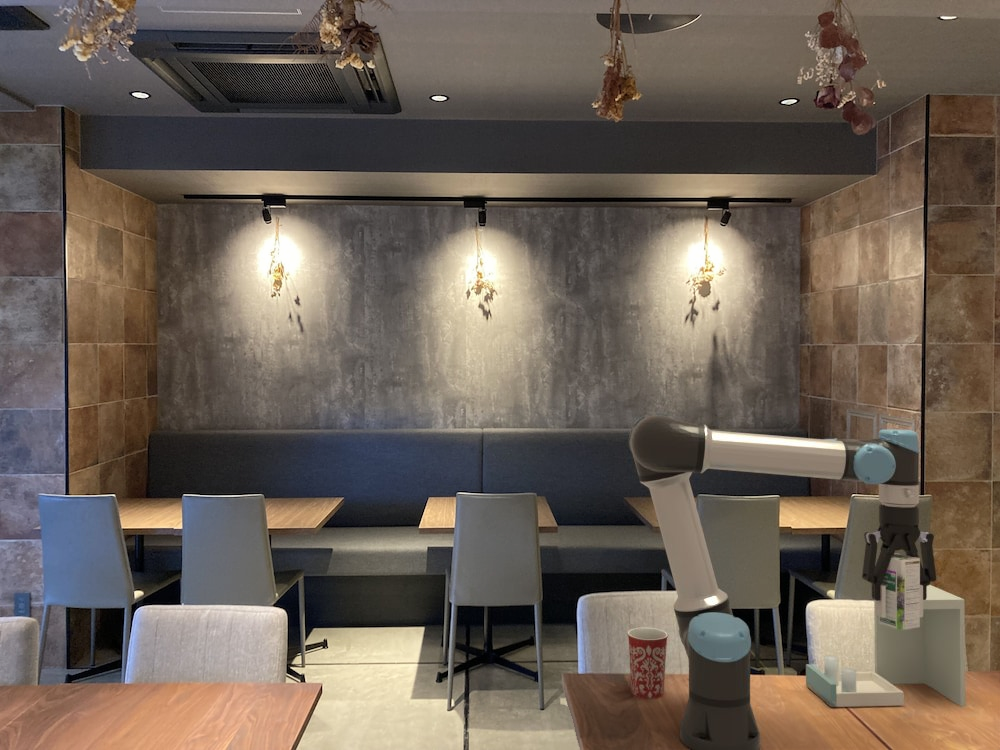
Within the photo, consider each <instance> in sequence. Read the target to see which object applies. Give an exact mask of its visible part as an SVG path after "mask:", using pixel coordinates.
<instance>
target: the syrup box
mask: <svg viewBox="0 0 1000 750" xmlns="http://www.w3.org/2000/svg"><path fill="white" fill-rule="evenodd" d="M920 562H921V558H920V557H919V558H915V557H910V556H907V555H905V554H901V553H898V552H897V553H896V552H895V553H894V555H892V557H891V560H890V563H889V565H888V568H887V571H886V573H885V576H884V579H883V582H882V584H883V585H885V586H886V618H882V617H880V616H879V624H881V625H885V626H888V627H892V628H895V629H898V630H900V631H902V630H908V629H913V628H918V627H920Z"/></svg>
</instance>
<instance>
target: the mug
mask: <svg viewBox="0 0 1000 750" xmlns="http://www.w3.org/2000/svg"><path fill="white" fill-rule="evenodd" d="M668 636H669V633H667V631H665V630H662V629H660V628H654V627H636V628H631V629H629V630H628V631H627V638H628V653H629V655H628V656H629V672H630V688H631V689H630V690H631V691H630V692H631V694H633V695H634V696H636V697H639V698H643V699H658V698H660V697H662V696H664V694H665V680H666V679H665V678H666V676H665V675H666V660H667V658H666V657H667V643H668Z"/></svg>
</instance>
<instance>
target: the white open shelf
mask: <svg viewBox="0 0 1000 750" xmlns="http://www.w3.org/2000/svg"><path fill="white" fill-rule="evenodd" d="M873 600H874V599H873ZM873 602H874V605H873V606H874V609H873V610H874V672H875V673H876V674H878V675H879V676H881V677H882V678H884V679H885V680H886V681H888V682H889V683H891V684H892V685H907V684H908V685H909V684H910V685H911V684H913V685H914V684H925V685H926V686H928V687H930V688H932V689H933V690H934V691H936V692H938V693H939V694H941V695H942V696H944V697H945V696H946V697H945V698H947V699H948V700H950V701H951V702H953V703H954V704H956V705H957V706H960V707H966V634H965V633H966V630H965V628H966V625H965V622H966V621H965V620H966V619H965V616H966V614H965V613H966V612H965V611H966V610H965V609H966V608H965V605H966V604H965V599H964V598H961V597H959V596H957V595H955V594H953V593H951V592H947V591H945V590H943V589H941V588H939V587H936V586H933V585H931V584H930V585H928V586H927V598H926V600H923V617H920V627H918V628H913V629H908V630H902V631H900V630H898V629H895V628H892V627H888V626H885V625H881V624H879V616H878V615H876V600H874V601H873Z"/></svg>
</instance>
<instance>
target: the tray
mask: <svg viewBox="0 0 1000 750" xmlns="http://www.w3.org/2000/svg"><path fill="white" fill-rule="evenodd" d="M823 657H824V658H823V662H824V663H823V664H824V672H821V671H820V670H819V669H817V667H815V666H814V665H813V664H808V663H807V664H805V686H806V687H807V688H809V689H810V690H811V691H812V692H814V694H816V695H817V696H818V697H819V698H820V699H821V700H822V701H824V702H825V704H827V705H828V706H830V707H831V708H840V707H841V708H843V707H849V708H851V707H879V706H881V707H884V706H885V707H886V706H887V707H889V706H890V707H891V706H905V705H904V700H905V699H904V691H902V690H901V689H900V688H898V687H897V686H895V684H891V683H889V682H888V681H886V680H885V679H884V678H882V677H881V676H879V675H878V674H876V673H875V671H857V670H856V669H854V668H849V667H843V668H841V669H840V670H841V672H839V671H840V670H839V657H838V656H835V655H831V654H829V655H824V656H823Z"/></svg>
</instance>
